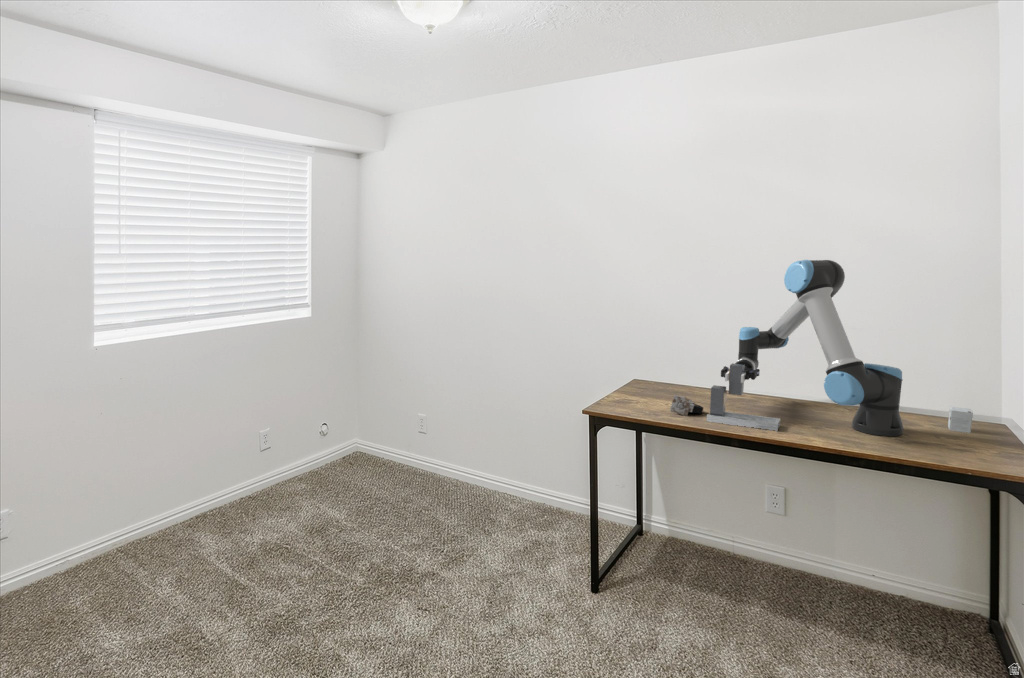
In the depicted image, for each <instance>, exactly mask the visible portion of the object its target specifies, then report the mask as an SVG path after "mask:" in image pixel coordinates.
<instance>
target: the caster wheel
mask: <svg viewBox="0 0 1024 678" xmlns="http://www.w3.org/2000/svg"><path fill="white" fill-rule="evenodd" d="M703 411H704V406H702V405H699V404H696V403H695V402H693V400H692V399H689V398H688V397H687V396H683V395H681V396H680V395H678V394H674V395H673V399H672V402H671V405H670V409H669V412H672V413H675V414H678V415H680V416H684V417H687V416H688V414H689V413H695V414H699V415H702V414H703Z"/></svg>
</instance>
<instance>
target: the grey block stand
mask: <svg viewBox="0 0 1024 678" xmlns="http://www.w3.org/2000/svg"><path fill="white" fill-rule="evenodd" d="M709 402H710V404H709V414H708V413H707V414H706V422H708V423H717V424H722V423H723V424H724V425H731V426H737V425H738V426H737V427H744V426H746V427H745V428H751V427H754V428H753V429H758V428H761V430H765V429H769V430H768V431H773V430H775V432H778V430H779V429H778V428H780V426H781V418H778V417H771V416H770V417H769V416H765V415H764V416H762V415H756V414H755V415H754V414H746V413H740V412H739V413H738V412H732V411H726V404H727V386H724V385H715V384H714V385H712V386H711V387H710V401H709Z"/></svg>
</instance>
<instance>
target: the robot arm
mask: <svg viewBox="0 0 1024 678" xmlns="http://www.w3.org/2000/svg"><path fill="white" fill-rule="evenodd" d="M845 277H846V276H845V271H844V268H843V266H841V265H840V264H839V263H838V262H836V261H834V260H831V259H830V260H829V259H821V260H820V259H819V260H818V259H816V260H815V259H814V260H813V259H812V260H811V259H810V260H809V259H802V260H797V261H793V262H792V263H791V264H789V266H788V267H787V268H786V272H785V274H784V277H783V281H784V286H785V288H786V289H787V291H788V292H791V293H792V294H796V295H795V296H796V299H797V300H796V301H795V302H794V303H793V304H792V305H791V306H790V307H788V309H787V310H786V311H785V312H784V313H783V314H782V315H781V316H780V317H779V319H778V320H777V321H776V322H774V324H773V325H772V326H771V327H770V328H769V329H768V330H765V331H764V330H762V331H761V330H760V329H759V327H754V326H753V327H752V326H743V327H741V328H740V330H739V332H738V333H739V335H738V354H737V355H738V357H737V361H736V362H735V363H734V364H745V367H744V373H743V374H742V375H741V383H743V382H745V381H746V380H747V381H748V380H750V379H751V380H753V381H754V380H756V378H757V377H759V376H760V369H759V363H760V362H759V359H758V357H759V350H767V349H768V350H770V349H771V350H772V349H780V348H784V347H786V346H787V345H788V342H789V339H790V338H789V337H790V336H791V335H792V333H794V332H795V330H796V329H798V328H799V326H801V325H802V324H803V323H804V322H805V321H806V320H807V319H808V318H810V319H809V320H810V321H811V324H812V326H813V329H814V331H815V334H816V337H817V339H818V342H819V344H820V346H821V350H822V352H823V355H824V357H825V361H826V362H827V364H828V365H827V367H826V370H825V374H826V376H825V378H824V383H823V389H824V392H825V393H826V394H825V395H826V396H827V397H828V398H829V399H830V400H831V402H834V403H835V404H837V405H839V406H850V407H851V406H852V407H853V406H858V405H859V407H858V408H857V411H856V412H855V414H854V417H853V418H852V422H851V428H852V429H854V430H856V431H858V432H862V433H864V434H869V435H875V436H883V437H898V436H901V435H903V433H904V425H903V422H902V421H903V420H902V417H901V414H900V402H901V401H900V400H901V395H902V394H901V392H902V384H903V380H904V379H903V371H902V370H901V369H900V368H898V367H894V366H889V365H882V364H877V363H875V364H874V363H867V362H866V363H864V361H863V360H861V359H859V358H857V357H856V355H855V353H854V350H853V347H852V345H851V343H850V340H849V338H848V336H847V332H846V331H845V328H844V326H843V323H842V321H841V318H840V316H839V312H838V311H837V309H836V306H835V303H834V301H833V299H832V298H833V297H834V296H835V295H836V294H838V292H839V291H840V290H841V288H842V287H843V284H844V283H845ZM729 369H730V366H729V367H728V366H723V368H722V369H721V370H720V377H721V378H724V381H725V382H729Z"/></svg>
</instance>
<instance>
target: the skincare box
mask: <svg viewBox="0 0 1024 678" xmlns="http://www.w3.org/2000/svg"><path fill="white" fill-rule="evenodd" d="M973 414H974V412H973V410H972V409H971V408H963V407H956V406H949V414H948V421H947V427H948V430H949V431H951V432H952V431H953V432H957V433H966V432H967V433H966V434H971V432H972V424H973V416H974V415H973Z"/></svg>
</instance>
